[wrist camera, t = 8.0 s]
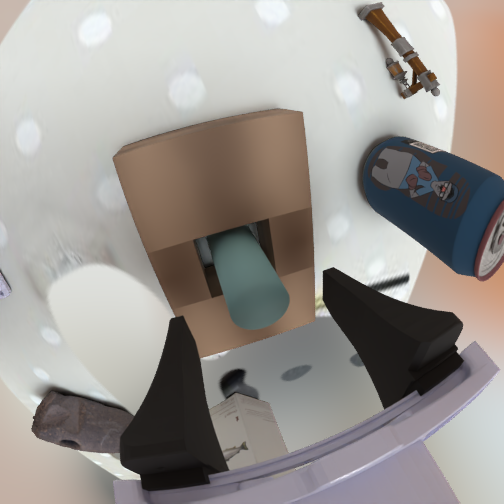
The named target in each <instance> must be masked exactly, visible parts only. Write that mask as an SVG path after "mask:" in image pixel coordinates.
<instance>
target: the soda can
mask: <svg viewBox="0 0 504 504" xmlns="http://www.w3.org/2000/svg"><path fill="white" fill-rule="evenodd" d="M363 186H364V190H365V193H366V197H367V199H368V202H369V204H370V205H371V207H372V208H373V209H374V210H375V211H376V212H377V213H378V214H380V215H381V216H383V217H384V218H386V219H387V220H389V221H390V222H391V223H393V224H394V225H396V226H397V227H398V228H400V229H401V230H402V231H404V232H405V233H407V234H408V235H409V236H411V237H412V238H413V239H415V240H416V241H417V242H419V243H420V244H421V245H422V246H424V247H425V248H426V249H428V250H429V251H430V252H431V253H433V254H434V255H435V256H436V257H438V258H439V259H440V260H441V261H443V262H444V263H445V264H446V265H447V266H449V267H450V268H451V269H452V270H453V271H455V272H456V273H457V274H461V275H467V276H473V277H476V278H477V279H478V280H479V281H486V280H488V279H489V278H490V277H491V276H493V275H494V274H495V272H496V271H497V270H498V269H499V268H500V266H501V265H502V263H503V262H504V180H503V179H502V178H501V177H500V176H498V175H496V174H495V173H492V172H491V171H489V170H486V169H484V168H482V167H480V166H478V165H476V164H474V163H472V162H469V161H467V160H465V159H462V158H460V157H458V156H455V155H453V154H451V153H448V152H446V151H443V150H440V149H438V148H435V147H433V146H430V145H427V144H424V143H422V142H419V141H416V140H413V139H410V138H407V137H394V138H391V139H388V140H386V141H384V142H383V143H381V144H379V145H378V146H376V147H375V148H374V149H373V150H372V151H371V153H370V154H369V156H368V158H367V160H366V162H365V165H364V169H363Z"/></svg>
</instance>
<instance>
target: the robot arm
mask: <svg viewBox="0 0 504 504" xmlns="http://www.w3.org/2000/svg"><path fill="white" fill-rule="evenodd" d="M10 293H11V290H10V288H9V286H8V285H7V283H6V281H5V280H4V278H3V276H2V275H1V273H0V299H2V298H5V297H8V296H9V295H10ZM323 301H324V303H325V305H326V307H327V309H328V311H329V312H330V314H331V316H332V317H333V319H334V320H335V321H336V323H337V324H338V326H339V327H340V328H341V330H342V331H343V332H344V334H345V335H346V336H347V338H348V339H349V341H350V342H351V343H352V345H353V346H354V348H355V349H356V351H357V353H358V354H359V356H360V358H361V360H362V362H363V363H364V365H365V367H366V369H367V371H368V373H369V375H370V377H371V379H372V381H373V383H374V386H375V388H376V390H377V392H378V395H379V397H380V400H381V402H382V405H383V407H384V410H383V411H381V412H380V413H378V414H376V415H374V416H372V417H370V418H369V419H367V420H365V421H363V422H361V423H359V424H357V425H355V426H353V427H351V428H349V429H347V430H344V431H343V432H340V433H338V434H336V435H334V436H331V437H329V438H327V439H325V440H322V441H320V442H317V443H315V444H312V445H310V446H308V447H305V448H302V449H299V450H297V451H294V452H291V453H288V454H285V455H283V456H280V457H277V458H273V459H270V460H267V461H264V462H260V463H257V464H253V465H250V466H246V467H242V468H238V469H234V470H229V468H228V465H227V463H226V460H225V458H224V455H223V452H222V450H221V447H220V444H219V441H218V438H217V435H216V432H215V429H214V426H213V423H212V419H211V416H210V412H209V409H208V405H207V401H206V396H205V389H204V383H203V376H202V369H201V362H200V357H199V353H198V349H197V345H196V341H195V339H194V337H193V335H192V333H191V331H190V329H189V327H188V325H187V323H186V321H185V318H184V316H183V315H182V316H178V317H175V318H171V320H170V322H169V328H168V333H167V337H166V342H165V345H164V349H163V353H162V356H161V359H160V362H159V365H158V369H157V371H156V374H155V377H154V379H153V382H152V384H151V386H150V389H149V391H148V393H147V395H146V397H145V399H144V401H143V403H142V405H141V406H140V409H139V410H138V411H137V413H136V415H135V416H134V418H133V420H132V421H131V423H130V424H129V425H128V427H127V428H126V430H125V431H124V432H123V434H122V435H121V436H120V461H121V464H122V466H123V467H125V468H127V469H129V470H131V471H133V472H135V473H137V474H140V478H141V480H114V481H113V485H114V494H115V501H116V504H460V502H459V500H458V499H457V497H456V495H455V494H454V492H453V490H452V488H451V487H450V485H449V483H448V482H447V480H446V478H445V477H444V475H443V474H442V472H441V470H440V469H439V467H438V465H437V464H436V462H435V460H434V459H433V457H432V455H431V454H430V452H429V451H428V449H427V448H426V446H425V444H424V443H423V441H425V440H426V439H427V438H429V437H430V436H431V435H433V434H434V433H435V432H437V431H438V430H439V429H440V428H442V427H443V426H444V425H445V424H447V423H448V422H449V421H450V420H452V419H453V418H454V417H455V416H456V415H457V414H459V413H460V412H461V411H462V410H463V409H464V408H465V407H466V406H467V405H469V404H470V403H471V402H472V401H473V400H474V399H475V398H476V397H477V396H478V395H479V394H480V393H481V392H482V391H483V390H484V389H485V388H486V386H488V384H489V383H490V382H491V381H492V380H493V379H494V377H495V376H496V375H497V374H498V373H499V371H500V369H499V368H498V367H497V365H496V364H495V363H494V362H493V361H492V360H491V358H490V357H489V356H488V355H487V354H486V352H485V351H484V350H483V349H482V348H481V347H480V346H479V345H478V343H477V342H476V341H474V342H473V343H471V344H470V345H469V346H468V347H467V348H466V349H464V350H463V351H462V352H461V354H460V355H459V354H458V353H457V352H456V351H457V350H458V348H457V346H456V345H455V342H456V341H457V339H458V337H459V335H460V333H461V331H462V329H463V323H462V322H461V321H460V319H459V318H457V316H456V315H455V314H454V313H452V312H445V311H437V310H432V309H427V308H422V307H418V306H414V305H411V304H408V303H405V302H402V301H399V300H396V299H394V298H391V297H389V296H386V295H384V294H382V293H380V292H378V291H376V290H373V289H372V288H370V287H368V286H366V285H364V284H362V283H360V282H358V281H357V280H355V279H353V278H351V277H350V276H348V275H346V274H344V273H343V272H341V271H339V270H337V269H336V268H334V267H333V268H330V269H327V270H324V271H323ZM317 459H318V460H317ZM315 460H316V461H315ZM312 461H314V462H313V463H311V464H310V465H308V466H305V467H303V468H301V469H298V470H296V471H293V472H291V473H288V474H286V475H283V476H281V477H278V478H275V479H274V478H273V477H269V476H272V475H276V474H279V473H282V472H285V471H288V470H291V469H294V468H296V467H299V466H302V465H304V464H307V463H309V462H312Z"/></svg>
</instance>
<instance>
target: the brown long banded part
mask: <svg viewBox="0 0 504 504" xmlns="http://www.w3.org/2000/svg"><path fill="white" fill-rule="evenodd" d="M383 7H384V5H383V4H382V2H380V3H376V4H371V5H367V6H366V7H365V8H364V9H363V11H362V12H361V13H360V15H359V16H358V17H359V18H360V19H361V20H365V19H367V20H368V21H369V22H371V23H372V24H373V25H374V26H376V27H377V28H378V29H379V30H380V31H381V32H382V33H383V34H384V35H385V36H386V37H387V38H388V39H389V40H390V41H391V42H392V44H391V45H392V46H393V47H394V48H395V49H396V51H397V52H398V53H399V55H400V57H401V56H403V57H404V59H403V60H404V62H405V63H406V62H408V64H409V65H410V66H411V67H412V69H413V77H412V85H411V86H409V84H407V80H408V79H405V77H404V76H405V74H406V73H407V71H405V72H404V71H403V69H402V68H401V66H400V65H399V61H397V62H394V61H393V60H392V59H391V58H388V59H387V60H386V63H387V64H388V65H389V66H388V67H386V68H387V69H388V70H389V71H390V72H391V73H392V75H393V76H394V78H393V80H394V79H400V80H399V81H401V82H400V83H403V84H404V83H405V82H406V84H404V85H405V87H406V86H407V85H408V86H409V88H407V87H406V90H404V92H403V93H401V95H402V97H403V98H404V99H405V98H407V97H410V96H412V95H414V94H415V93H417V91H418V90H420V89H422V88H423V87H424V88H425V90H426V92H428V91H430V90H431V93H432V95H434V96H438V95H439V94H440V91H439V89H438V88H437V86H439V85H440V84H439V83H438V82H437V80H436V79H437V77H436V76H435V74H434V73H431V71H430V70H427V69H426V67H425V66H424V65H423V63H422V62H421V60H420V59H419V58H418V54H417V52H414V51H413V49H414V48H413V47H412V46H411V45H410V44H409V43H408V42H407V40H406V39H405V37H402V36H401V35H400V34H399V33H398V32H397V30H396V29H395V27H394V26H393V25H392V23H391V22H390V21H389V19H388V18H387V17H386V15H385V14H384V12H383V10H382V9H383ZM417 75H418V77H417ZM417 79H418V80H419V81H420V82H418V83H417Z"/></svg>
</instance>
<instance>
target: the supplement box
mask: <svg viewBox="0 0 504 504" xmlns="http://www.w3.org/2000/svg"><path fill="white" fill-rule="evenodd" d="M209 412H210V416H211V419H212V423H213V426H214V429H215V432H216V435H217V438H218V441H219V444H220V447H221V450H222V452H223V455H224V458H225V460H226V463H227V465H228V468H229V470H234V469H238V468H242V467H246V466H250V465H253V464H257V463H260V462H264V461H267V460H270V459H273V458H277V457H280V456H283V455H285V454H288V453H289V452H288V450H287V448H286V445H285V442H284V440H283V437H282V435H281V433H280V430H279V427H278V425H277V422H276V420H275V417H274V414H273V412H272V409H271V406H270V404H269V403H268V402H265V401H261V400H258V399H255V398H252V397H248V396H245V395H242V394H239V393H234V394H233V395H232V396H231V397H229V398H228V399H226V400H225V401H223V402H221V403H220V404H218V405H217V406H215V407H213V408H211V409H209ZM293 471H296V469H295V468H294V469H291V470H288V471H285V472H282V473H279V474H276V475H272V476H269V477H273V478H274V479H275V478H278V477H281V476H283V475H286V474H288V473H291V472H293Z"/></svg>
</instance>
